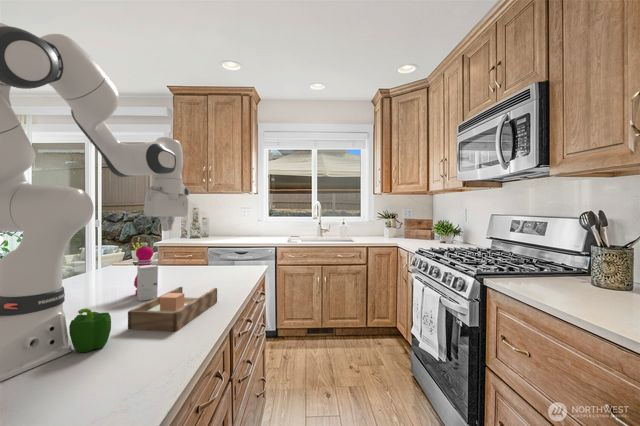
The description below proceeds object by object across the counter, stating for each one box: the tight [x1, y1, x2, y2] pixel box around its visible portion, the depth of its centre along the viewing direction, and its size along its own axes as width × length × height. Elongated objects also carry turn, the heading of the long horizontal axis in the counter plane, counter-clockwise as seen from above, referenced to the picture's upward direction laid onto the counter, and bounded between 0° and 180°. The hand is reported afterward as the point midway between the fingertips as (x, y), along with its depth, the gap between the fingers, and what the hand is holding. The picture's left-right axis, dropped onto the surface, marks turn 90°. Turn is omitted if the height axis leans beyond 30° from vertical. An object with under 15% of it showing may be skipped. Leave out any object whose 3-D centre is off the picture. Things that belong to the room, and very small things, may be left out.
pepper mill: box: [133, 242, 154, 296], centre depth 126 cm, size 7×7×20 cm
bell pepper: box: [68, 307, 112, 353], centre depth 78 cm, size 8×8×10 cm
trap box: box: [127, 286, 218, 332], centre depth 103 cm, size 28×14×5 cm, turn 175°
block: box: [159, 292, 185, 311], centre depth 100 cm, size 5×5×4 cm
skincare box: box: [136, 264, 159, 302], centre depth 120 cm, size 6×4×12 cm
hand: (167, 230), depth 107 cm, fingers closed
